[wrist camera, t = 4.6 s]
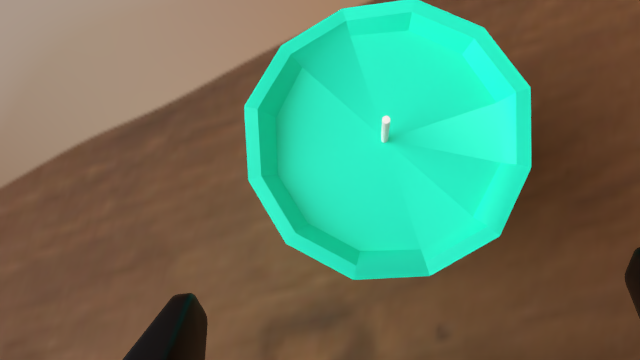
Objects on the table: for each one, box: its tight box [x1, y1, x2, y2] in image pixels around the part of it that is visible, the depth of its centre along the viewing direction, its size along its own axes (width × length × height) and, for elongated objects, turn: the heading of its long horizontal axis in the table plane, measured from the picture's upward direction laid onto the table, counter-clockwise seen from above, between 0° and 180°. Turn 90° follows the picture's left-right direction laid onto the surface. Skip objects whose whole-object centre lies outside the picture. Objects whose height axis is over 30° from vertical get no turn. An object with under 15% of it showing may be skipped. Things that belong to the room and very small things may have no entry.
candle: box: [244, 0, 531, 280], centre depth 14 cm, size 6×6×12 cm
